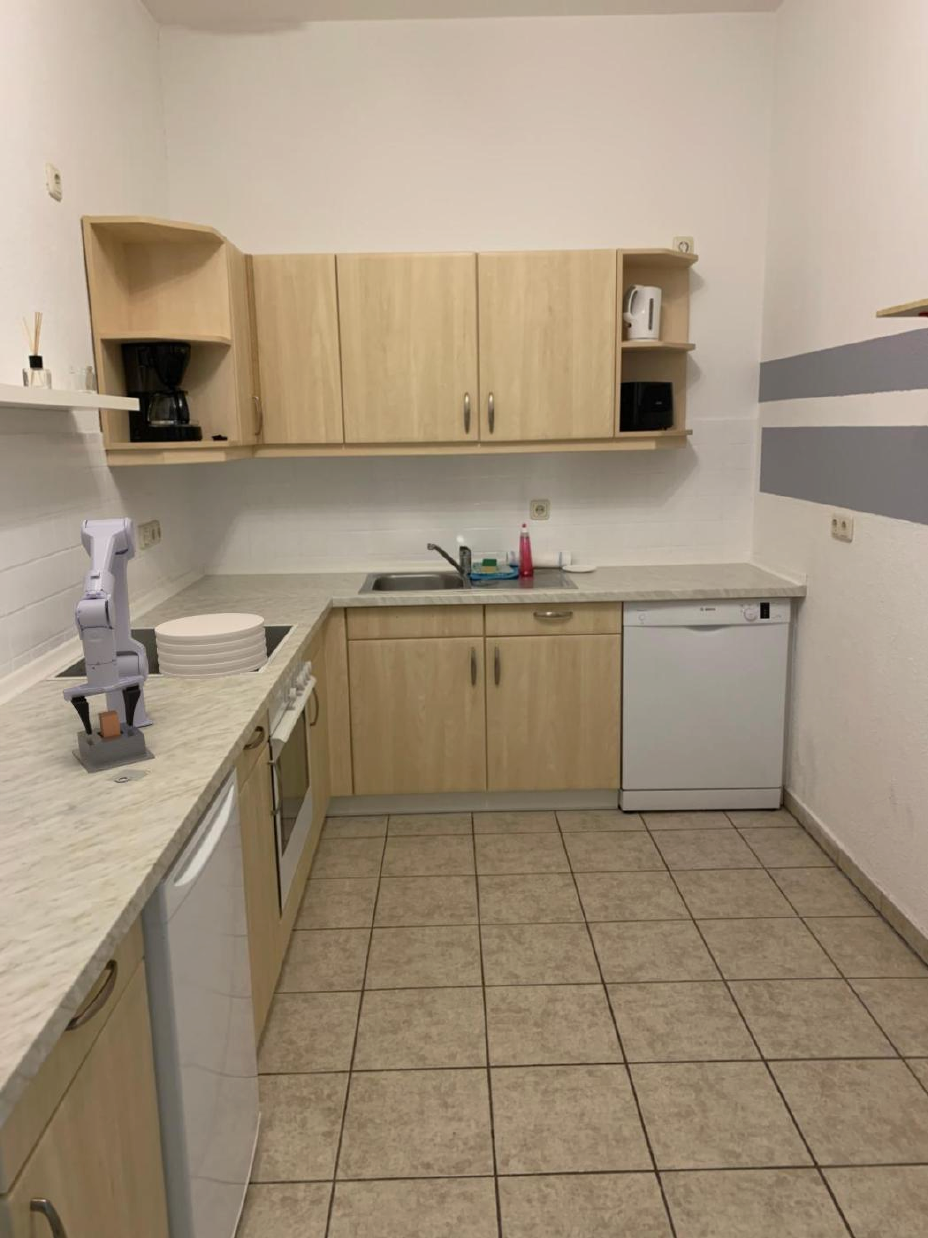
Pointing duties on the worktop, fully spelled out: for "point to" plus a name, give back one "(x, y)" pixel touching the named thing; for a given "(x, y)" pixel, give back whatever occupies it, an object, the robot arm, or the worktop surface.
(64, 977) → the worktop surface
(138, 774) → the mounting bracket
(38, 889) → the worktop surface
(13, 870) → the worktop surface
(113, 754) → the slotted block
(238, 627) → the plate stack
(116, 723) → the tan rectangular block
